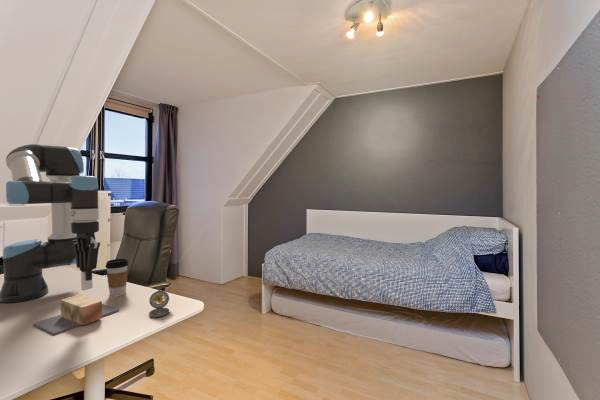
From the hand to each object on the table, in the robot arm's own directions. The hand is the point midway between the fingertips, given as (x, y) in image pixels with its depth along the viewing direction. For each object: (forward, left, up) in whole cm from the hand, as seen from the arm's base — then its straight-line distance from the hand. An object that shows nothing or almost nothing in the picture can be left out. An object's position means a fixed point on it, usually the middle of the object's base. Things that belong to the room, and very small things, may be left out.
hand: (87, 288), depth 97 cm
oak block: (+3, 0, -8) cm, 8 cm away
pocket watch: (+16, +16, -12) cm, 25 cm away
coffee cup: (-17, +20, -12) cm, 29 cm away
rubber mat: (-6, 0, -11) cm, 13 cm away
